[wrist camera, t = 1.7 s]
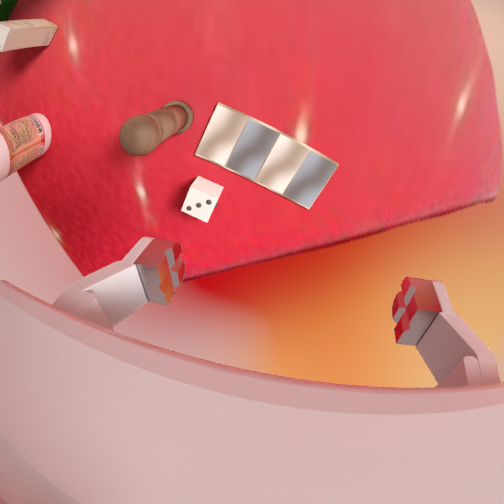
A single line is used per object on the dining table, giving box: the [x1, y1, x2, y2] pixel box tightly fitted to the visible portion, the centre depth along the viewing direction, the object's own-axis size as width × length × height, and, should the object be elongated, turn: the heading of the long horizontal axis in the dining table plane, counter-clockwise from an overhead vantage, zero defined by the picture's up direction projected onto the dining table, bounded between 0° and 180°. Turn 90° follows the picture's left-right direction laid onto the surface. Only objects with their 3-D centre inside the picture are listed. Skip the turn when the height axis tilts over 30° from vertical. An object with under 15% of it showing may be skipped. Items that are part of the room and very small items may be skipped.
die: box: [181, 176, 224, 222], centre depth 42 cm, size 5×5×5 cm
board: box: [195, 102, 339, 209], centre depth 39 cm, size 20×9×1 cm, turn 64°
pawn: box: [119, 101, 194, 156], centre depth 31 cm, size 5×5×15 cm
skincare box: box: [0, 19, 58, 52], centre depth 20 cm, size 6×4×12 cm
